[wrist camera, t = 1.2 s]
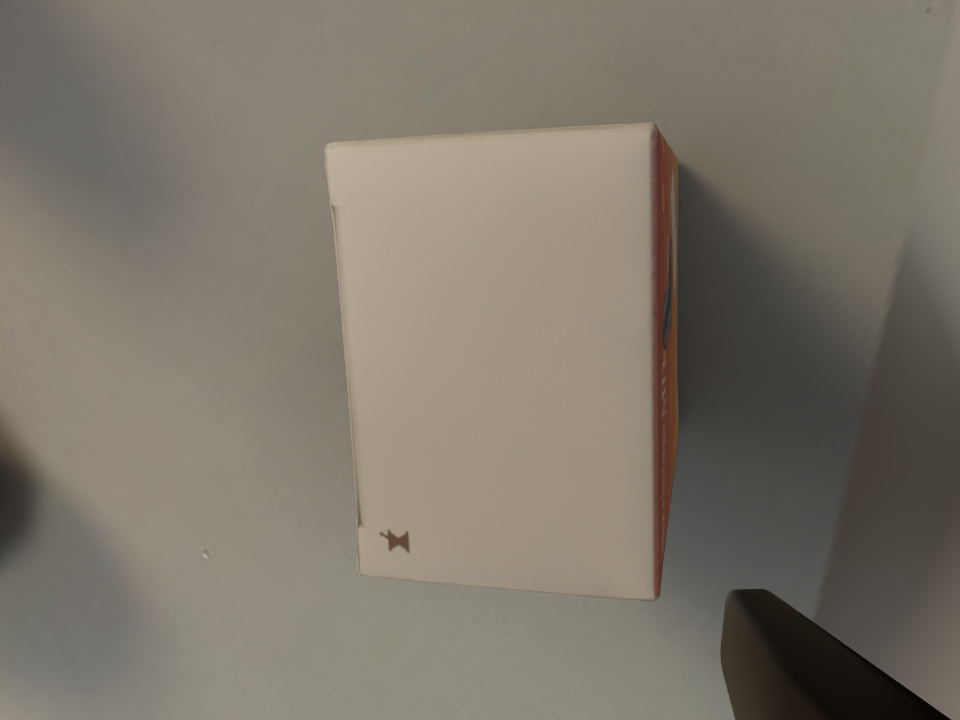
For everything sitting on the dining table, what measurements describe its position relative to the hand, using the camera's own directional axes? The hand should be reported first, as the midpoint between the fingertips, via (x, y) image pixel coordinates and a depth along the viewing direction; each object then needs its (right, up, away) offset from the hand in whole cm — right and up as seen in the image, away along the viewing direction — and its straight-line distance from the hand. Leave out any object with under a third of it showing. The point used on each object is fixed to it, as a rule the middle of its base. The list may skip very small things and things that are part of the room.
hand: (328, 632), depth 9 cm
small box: (+5, +5, +14) cm, 16 cm away
